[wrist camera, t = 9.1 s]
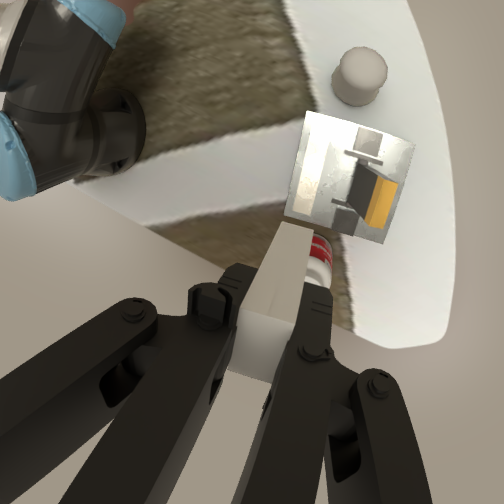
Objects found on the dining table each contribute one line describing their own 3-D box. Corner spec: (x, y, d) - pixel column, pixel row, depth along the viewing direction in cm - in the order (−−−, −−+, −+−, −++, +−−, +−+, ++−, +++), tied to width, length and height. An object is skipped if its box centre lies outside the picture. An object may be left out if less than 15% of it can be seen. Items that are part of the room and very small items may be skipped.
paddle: (343, 202, 34) (367, 230, 27) (356, 157, 31) (385, 174, 24) (355, 205, 34) (381, 233, 27) (368, 160, 32) (399, 178, 25)
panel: (285, 210, 40) (282, 217, 37) (308, 111, 33) (306, 110, 30) (380, 238, 37) (383, 247, 35) (411, 143, 31) (417, 145, 28)
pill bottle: (341, 254, 40) (341, 297, 31) (310, 277, 43) (301, 324, 34) (312, 223, 39) (304, 259, 30) (281, 249, 42) (265, 290, 33)
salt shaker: (382, 101, 30) (408, 91, 18) (341, 112, 32) (347, 106, 21) (365, 59, 28) (381, 30, 16) (324, 71, 30) (320, 46, 19)
